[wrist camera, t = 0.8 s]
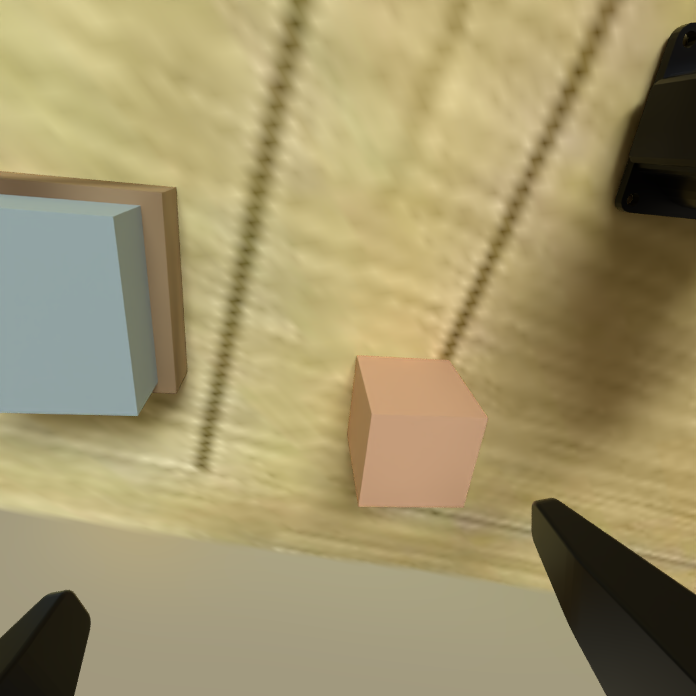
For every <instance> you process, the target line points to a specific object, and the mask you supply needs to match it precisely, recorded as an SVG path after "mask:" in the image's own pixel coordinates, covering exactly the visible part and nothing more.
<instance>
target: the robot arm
mask: <svg viewBox="0 0 696 696" xmlns="http://www.w3.org/2000/svg"><path fill="white" fill-rule="evenodd" d="M685 34H686V35H687V37H688V42H687V44H686V46H685V47H684V46H683V38H684V36H685ZM631 194H632V196H633V198H632V201H631V202H630V203H629V204H627V199H628V197H629V196H630V195H631ZM615 205H616V207H617V209H618V210H621V211H624V212H629V213H639V214H649V215H659V216H669V217H680V218H690V219H696V23H689V24H685V25H682V26H680V27H678V28H677V29H676V30H675V31H674V32H673V33H672V34H671V36H670V38H669V40H668V43H667V46H666V49H665V52H664V55H663V58H662V61H661V64H660V67H659V70H658V73H657V76H656V79H655V82H654V85H653V86H652V88H651V91H650V94H649V97H648V100H647V103H646V106H645V108H644V111H643V114H642V117H641V120H640V123H639V126H638V129H637V132H636V135H635V138H634V141H633V144H632V147H631V150H630V153H629V159H628V162H627V165H626V168H625V171H624V174H623V177H622V180H621V183H620V186H619V189H618V192H617V195H616V199H615ZM532 537H533V541H534V543H535V546H536V548H537V551H538V553H539V556H540V558H541V560H542V563H543V565H544V567H545V570H546V572H547V575H548V577H549V579H550V582H551V584H552V587H553V589H554V591H555V594H556V596H557V598H558V600H559V603H560V606H561V608H562V610H563V612H564V615H565V617H566V619H567V622H568V624H569V626H570V628H571V630H572V632H573V634H574V636H575V638H576V640H577V642H578V644H579V646H580V647H581V649H582V651H583V653H584V655H585V656H586V658H587V660H588V662H589V664H590V665H591V668H592V670H593V671H594V673H595V675H596V677H597V679H598V681H599V683H600V684H601V686H602V688H603V690H604V692H605V693H606V695H607V696H696V594H694V593H693V592H691V591H690V590H688V589H687V588H685V587H684V586H683V585H681V584H680V583H678V582H677V581H675V580H674V579H672V578H671V577H669V576H668V575H667V574H665V573H664V572H662V571H661V570H659V569H658V568H656V567H655V566H653V565H652V564H651V563H649V562H648V561H646V560H645V559H643V558H642V557H640V556H639V555H637V554H636V553H635V552H633V551H632V550H630V549H629V548H627V547H626V546H624V545H623V544H621V543H620V542H619V541H617V540H616V539H614V538H613V537H611V536H610V535H608V534H607V533H605V532H604V531H602V530H601V529H600V528H598V527H597V526H595V525H594V524H592V523H591V522H589V521H588V520H586V519H585V518H584V517H582V516H581V515H579V514H578V513H576V512H575V511H573V510H572V509H570V508H569V507H568V506H566V505H565V504H563V503H562V502H560V501H559V500H557V499H554V498H548V499H543V500H537V501H534V502H533V504H532ZM90 625H91V621H90V616H89V613H88V612H87V610H86V609H85V607H84V606H83V605H82V603H81V602H80V600H79V599H78V598H77V596H76V595H75V593H73V591H70V590H64V591H58V592H53V593H50V594H48V595H46V596H44V597H43V598H42V599H41V600H40V601H39V602H38V603H37V604H36V605H35V606H33V607H32V608H31V609H30V610H29V611H28V612H27V613H26V614H25V615H24V616H23V617H22V618H21V619H20V620H19V621H18V622H17V623H16V624H15V625H13V627H11V628H10V629H9V630H8V631H7V632H6V633H5V634H4V635H3V636H2V637H1V638H0V696H74V694H75V689H76V686H77V682H78V677H79V673H80V669H81V665H82V660H83V656H84V652H85V648H86V644H87V640H88V635H89V631H90Z"/></svg>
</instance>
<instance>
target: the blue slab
mask: <svg viewBox="0 0 696 696" xmlns="http://www.w3.org/2000/svg"><path fill="white" fill-rule="evenodd" d="M157 383H158V378H157V368H156V357H155V347H154V337H153V327H152V317H151V307H150V297H149V286H148V276H147V266H146V256H145V246H144V236H143V226H142V215H141V206H140V205H128V204H116V203H103V202H91V201H79V200H66V199H54V198H41V197H29V196H16V195H4V194H0V413H34V414H78V415H122V416H138V415H139V413H140V411H141V410H142V408H143V406H144V405H145V403H146V401H147V400H148V398H149V396H150V395H151V393H152V391H153V389H154V388H155V386H156V384H157Z"/></svg>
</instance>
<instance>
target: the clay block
mask: <svg viewBox="0 0 696 696" xmlns="http://www.w3.org/2000/svg"><path fill="white" fill-rule="evenodd" d="M487 421H488V417H487V415H486V414H485V413H484V411H483V410H482V408H481V407H480V405H479V404H478V402H477V401H476V399H475V398H474V396H473V395H472V393H471V392H470V390H469V389H468V387H467V386H466V384H465V383H464V381H463V380H462V378H461V377H460V375H459V374H458V372H457V371H456V369H455V368H454V366H453V365H452V363H451V362H450V360H437V359H418V358H398V357H379V356H360V355H357V359H356V367H355V375H354V383H353V392H352V400H351V408H350V416H349V425H348V433H347V436H348V442H349V449H350V455H351V462H352V468H353V475H354V481H355V488H356V494H357V501H358V507H464V504H465V500H466V497H467V493H468V490H469V486H470V482H471V479H472V475H473V471H474V468H475V464H476V461H477V457H478V453H479V450H480V446H481V442H482V439H483V435H484V432H485V428H486V424H487Z"/></svg>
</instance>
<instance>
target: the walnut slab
mask: <svg viewBox="0 0 696 696" xmlns="http://www.w3.org/2000/svg"><path fill="white" fill-rule="evenodd" d="M0 194H4V195H16V196H29V197H41V198H54V199H66V200H79V201H91V202H103V203H116V204H128V205H140V206H141V215H142V226H143V236H144V246H145V256H146V266H147V276H148V286H149V297H150V307H151V317H152V327H153V337H154V347H155V357H156V368H157V378H158V383H157V384H156V386H155V388H154V389H153V391H152V393H177V391H178V389H179V387H180V385H181V383H182V381H183V379H184V377H185V375H186V373H187V358H186V342H185V325H184V308H183V292H182V275H181V258H180V242H179V225H178V209H177V192H176V187H166V186H155V185H144V184H133V183H122V182H112V181H101V180H90V179H79V178H68V177H57V176H47V175H36V174H25V173H14V172H3V171H0Z"/></svg>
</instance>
